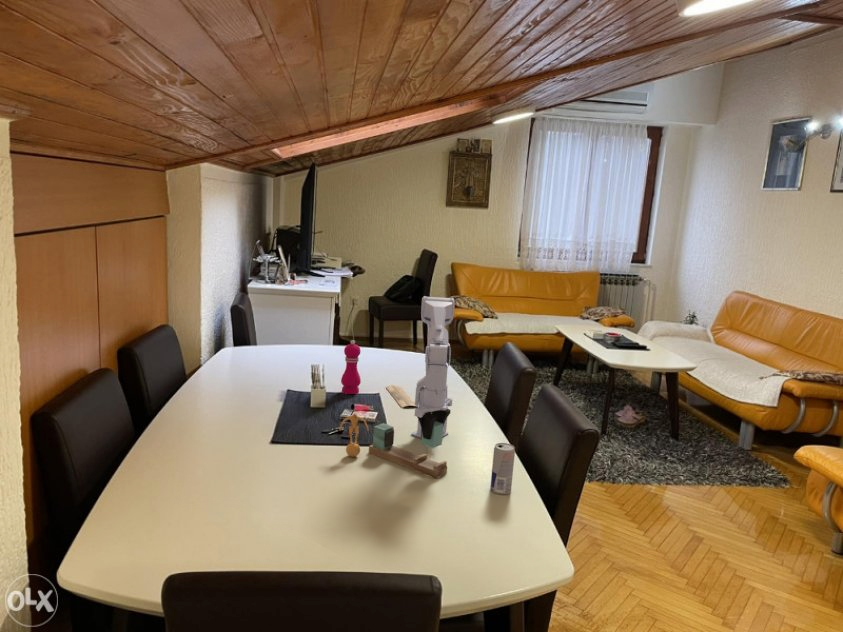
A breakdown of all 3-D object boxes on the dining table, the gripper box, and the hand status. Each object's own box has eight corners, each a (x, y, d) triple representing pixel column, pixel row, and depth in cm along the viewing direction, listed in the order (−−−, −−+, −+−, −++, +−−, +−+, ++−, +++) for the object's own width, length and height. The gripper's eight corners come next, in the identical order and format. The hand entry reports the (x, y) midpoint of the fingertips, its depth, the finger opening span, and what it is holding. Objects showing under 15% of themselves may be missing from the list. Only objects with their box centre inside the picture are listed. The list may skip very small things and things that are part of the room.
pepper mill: (358, 396, 232) (361, 343, 228) (339, 394, 232) (341, 341, 228) (361, 390, 239) (363, 338, 235) (342, 388, 239) (344, 337, 235)
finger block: (428, 439, 175) (429, 419, 174) (441, 444, 172) (443, 423, 171) (419, 443, 172) (420, 422, 171) (432, 448, 169) (434, 427, 168)
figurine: (337, 458, 176) (339, 417, 174) (338, 450, 182) (340, 410, 180) (367, 459, 177) (369, 418, 175) (367, 450, 183) (369, 411, 181)
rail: (380, 447, 186) (381, 421, 184) (446, 472, 172) (448, 445, 170) (368, 452, 182) (370, 426, 180) (436, 478, 168) (438, 450, 166)
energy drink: (497, 483, 167) (501, 440, 165) (514, 490, 164) (519, 447, 162) (486, 490, 163) (490, 446, 161) (503, 497, 160) (508, 452, 158)
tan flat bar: (418, 410, 223) (418, 405, 223) (398, 410, 221) (399, 405, 221) (400, 389, 245) (401, 385, 245) (383, 389, 243) (383, 385, 243)
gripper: (431, 397, 161) (427, 447, 164) (462, 386, 173) (458, 433, 175) (409, 390, 165) (406, 440, 168) (441, 380, 177) (438, 426, 179)
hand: (431, 436), depth 172 cm, fingers closed on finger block, 4 cm apart
